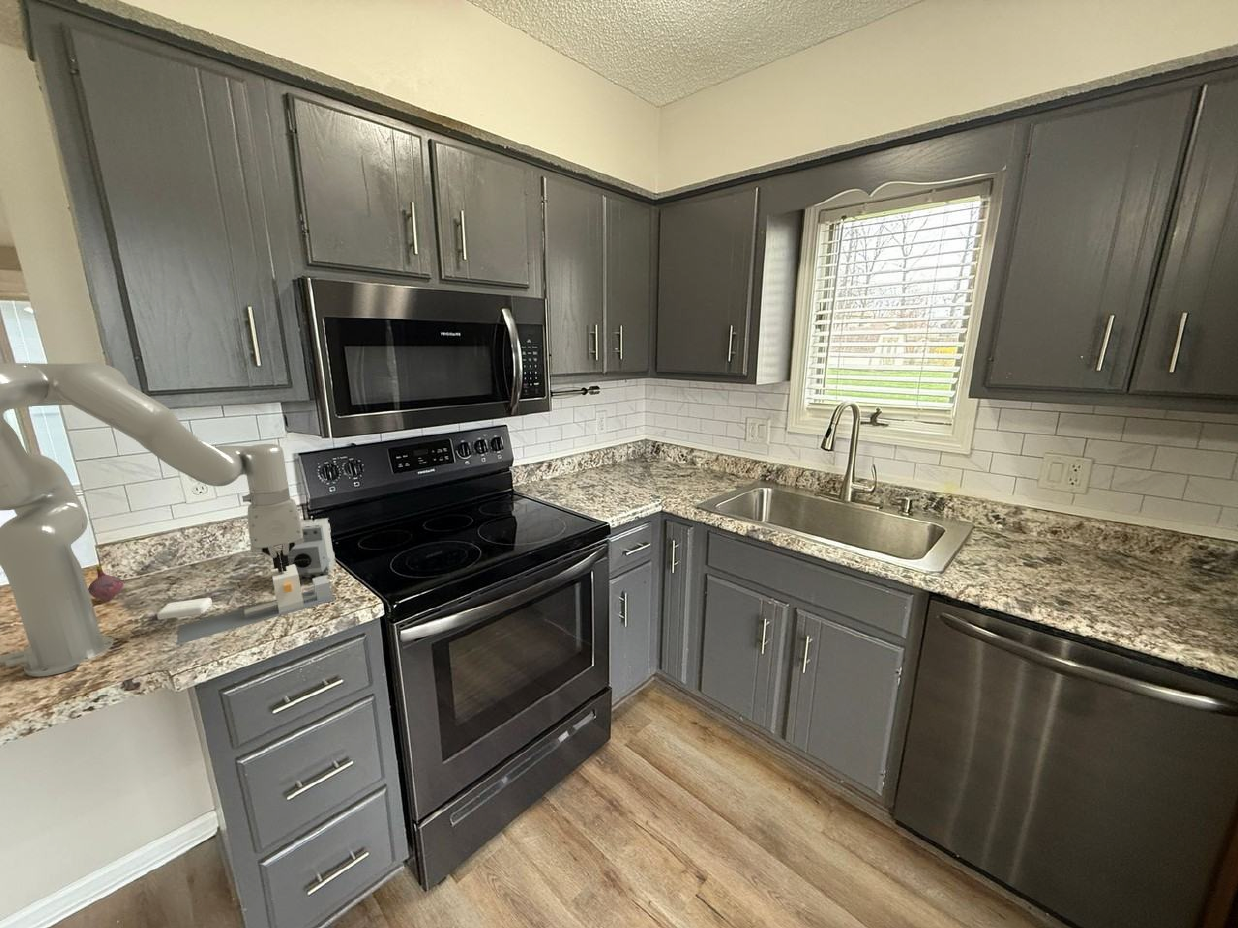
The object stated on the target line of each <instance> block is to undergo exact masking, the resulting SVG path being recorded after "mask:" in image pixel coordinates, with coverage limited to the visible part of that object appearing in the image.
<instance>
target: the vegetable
mask: <svg viewBox="0 0 1238 928" xmlns="http://www.w3.org/2000/svg"><path fill="white" fill-rule="evenodd" d="M95 568H96V569H95V570H96V573H97V578H95V579H94V580H92V581H91V583H90V584H89V585H88V590H89V594H90V597H93V598H95V599H98V600H101V601H107V602H109V600H110V601H111V600H113V599H114V598H115V597H116V596H117V595H118V594H120V593H121V592H122V591H123V588H124V583H123V582H124V581H123V580H122V579H121V578H119V577H118V576H113V575H109V574H107V573H105V572H104V571H103V569H102V567H101V565H99V564H98V565H97V566H96V567H95Z"/></svg>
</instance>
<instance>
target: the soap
mask: <svg viewBox="0 0 1238 928" xmlns="http://www.w3.org/2000/svg"><path fill="white" fill-rule="evenodd" d="M212 604H213V601H212V598H210V597H204V598H198V599H190V600H182V601H175V602H169V603H167V604H166V605H165V606H164V607H162V609H161V610H160V611H158V612H157V614H156V616H157V617H156V618H157V620H166V619H174V618H175V619H176V618H180V617H188V616H193V615H201V614H203V613H205V612H206V611H207V610H208V609H209V608H210V607H211V605H212Z"/></svg>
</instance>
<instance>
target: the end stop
mask: <svg viewBox="0 0 1238 928" xmlns="http://www.w3.org/2000/svg"><path fill="white" fill-rule="evenodd" d="M312 585H313V590H314V591H315V592H316V595H317V600H321V599H325V598H329V597H332V596H331V591H332V590H330V589H331V585H330V581H329V579H328V577H327V575H323V576H322V575H321V576H317V577H314V578H312Z"/></svg>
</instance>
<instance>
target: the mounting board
mask: <svg viewBox="0 0 1238 928" xmlns="http://www.w3.org/2000/svg"><path fill="white" fill-rule="evenodd" d="M330 590H331V588H330ZM312 591H314V589H309V590H307V591H306V590H305V591H301V592H302V594H304V593H308V592H312ZM331 596H332V597H329V598H325V599H321V600H317V599H314V600H310V601H306V602H303V604H304V607H301V608H297V609H294V610H290V611H287V612H283V613H279V609H277V610H274V611H270V612H266V613H263V614H259V615H256V616H252V617H248V618H245V612H244V610H245V609H248V608H252V607H256V606H259V605H263V604H267V603H271V602H274V601H277V600H276V599H273V600H269V601H265V602H262V603H258V604H254V605H251V606H245V607H243V608H239V609H235V610H231V611H228V612H225V613H220V614H217V615H214V616H212V615H211V616H210V617H206V618H201V619H198V620H193V621H190V622H187V623H183V624H179V625H178V632H177V640H176V646H178V645H182V644H185V643H188V642H192V641H193V642H194V641H196V640H199V639H202V638H205V637H207V638H208V637H211V636H213V635H217V634H219V633H225V632H227V631H230V630H235V629H237V628H242V627H245V626H248V625H253V624H256V623H258V622H259V623H260V622H263V621H267V620H270V619H274V618H276V617H280V616H284V615H288V614H291V613H295V612H298V611H302V610H305V609H310V608H311V607H315V606H318V605H323V604H327V603H330V602H334V601H336V598H335V596H334V593H333V591H332V590H331Z"/></svg>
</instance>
